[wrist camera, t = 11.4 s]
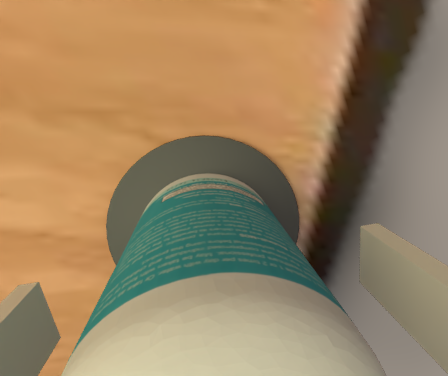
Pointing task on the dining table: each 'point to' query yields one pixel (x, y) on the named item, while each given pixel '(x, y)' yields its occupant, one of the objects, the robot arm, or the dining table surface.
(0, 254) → the dining table surface
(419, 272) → the robot arm
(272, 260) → the pill bottle
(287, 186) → the coaster
